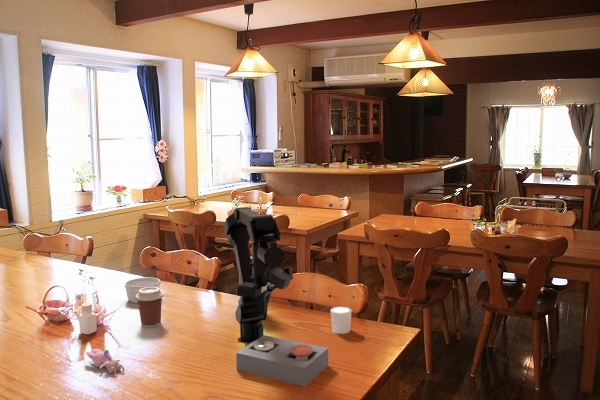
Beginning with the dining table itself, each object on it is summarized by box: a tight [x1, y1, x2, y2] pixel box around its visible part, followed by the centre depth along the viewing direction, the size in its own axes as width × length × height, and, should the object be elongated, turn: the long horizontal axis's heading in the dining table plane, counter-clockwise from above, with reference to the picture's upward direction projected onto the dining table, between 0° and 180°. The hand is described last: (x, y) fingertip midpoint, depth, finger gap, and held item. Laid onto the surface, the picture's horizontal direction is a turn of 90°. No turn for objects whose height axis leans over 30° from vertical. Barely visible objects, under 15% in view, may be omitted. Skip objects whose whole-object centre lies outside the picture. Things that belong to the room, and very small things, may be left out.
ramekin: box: [124, 276, 162, 304], centre depth 212 cm, size 13×13×7 cm
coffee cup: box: [135, 287, 165, 328], centre depth 185 cm, size 9×9×12 cm
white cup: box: [329, 306, 352, 335], centre depth 176 cm, size 7×7×7 cm
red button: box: [291, 345, 312, 361], centre depth 147 cm, size 6×6×6 cm
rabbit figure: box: [85, 348, 125, 376], centre depth 152 cm, size 6×6×15 cm
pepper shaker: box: [78, 302, 98, 336], centre depth 178 cm, size 4×4×10 cm
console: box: [235, 334, 329, 388], centre depth 150 cm, size 21×14×5 cm, turn 61°
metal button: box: [254, 341, 274, 353], centre depth 153 cm, size 6×6×6 cm
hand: (263, 312), depth 157 cm, fingers closed
